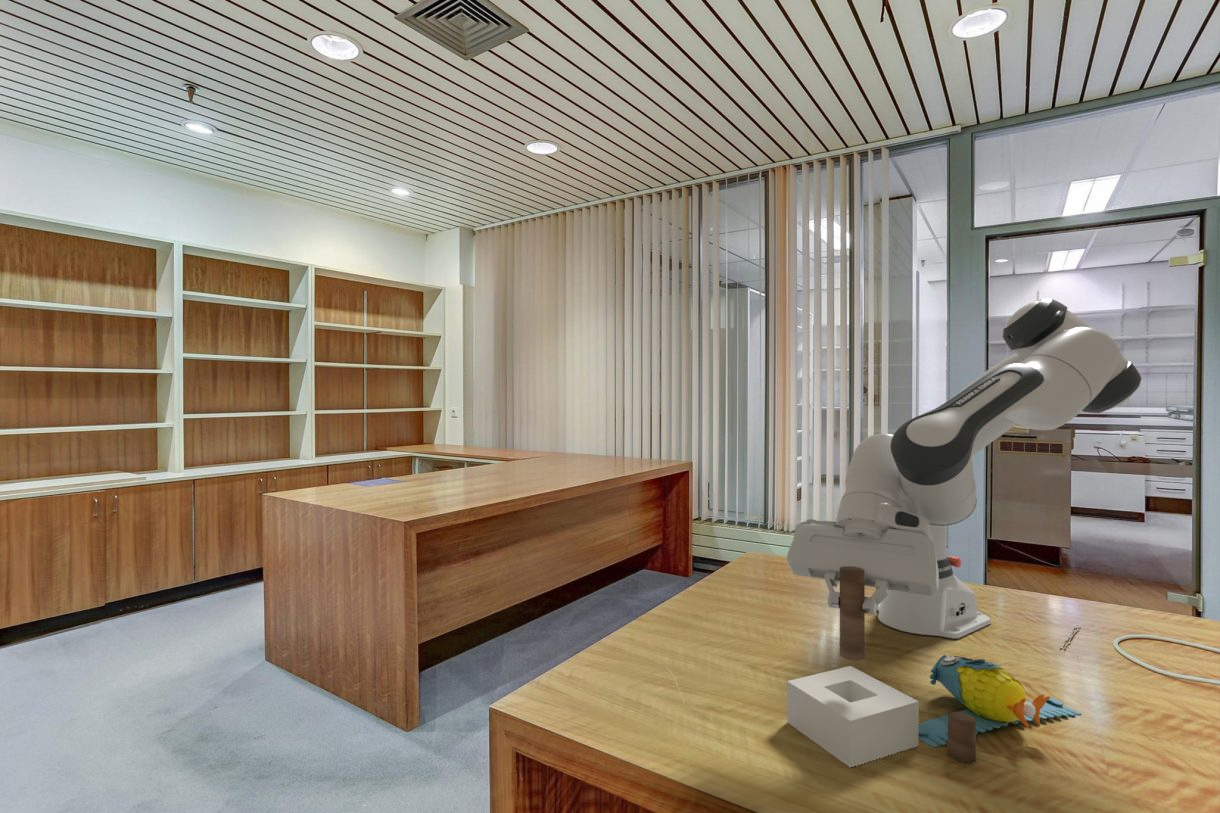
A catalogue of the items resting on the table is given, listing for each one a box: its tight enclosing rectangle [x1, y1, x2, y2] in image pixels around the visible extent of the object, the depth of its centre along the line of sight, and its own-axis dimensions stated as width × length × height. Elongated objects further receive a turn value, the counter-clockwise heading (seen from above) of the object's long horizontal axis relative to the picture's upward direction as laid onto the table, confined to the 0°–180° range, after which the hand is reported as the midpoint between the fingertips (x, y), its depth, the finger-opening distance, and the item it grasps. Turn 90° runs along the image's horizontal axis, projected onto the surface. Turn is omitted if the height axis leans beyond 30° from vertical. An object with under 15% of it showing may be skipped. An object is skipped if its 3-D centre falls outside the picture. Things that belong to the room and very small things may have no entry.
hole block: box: [786, 665, 920, 769], centre depth 86 cm, size 12×12×6 cm
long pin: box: [839, 566, 866, 662], centre depth 85 cm, size 3×3×12 cm
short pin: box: [947, 711, 977, 765], centre depth 80 cm, size 3×3×5 cm
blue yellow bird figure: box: [919, 654, 1082, 748], centre depth 90 cm, size 28×9×15 cm
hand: (851, 609), depth 85 cm, fingers closed on long pin, 3 cm apart
